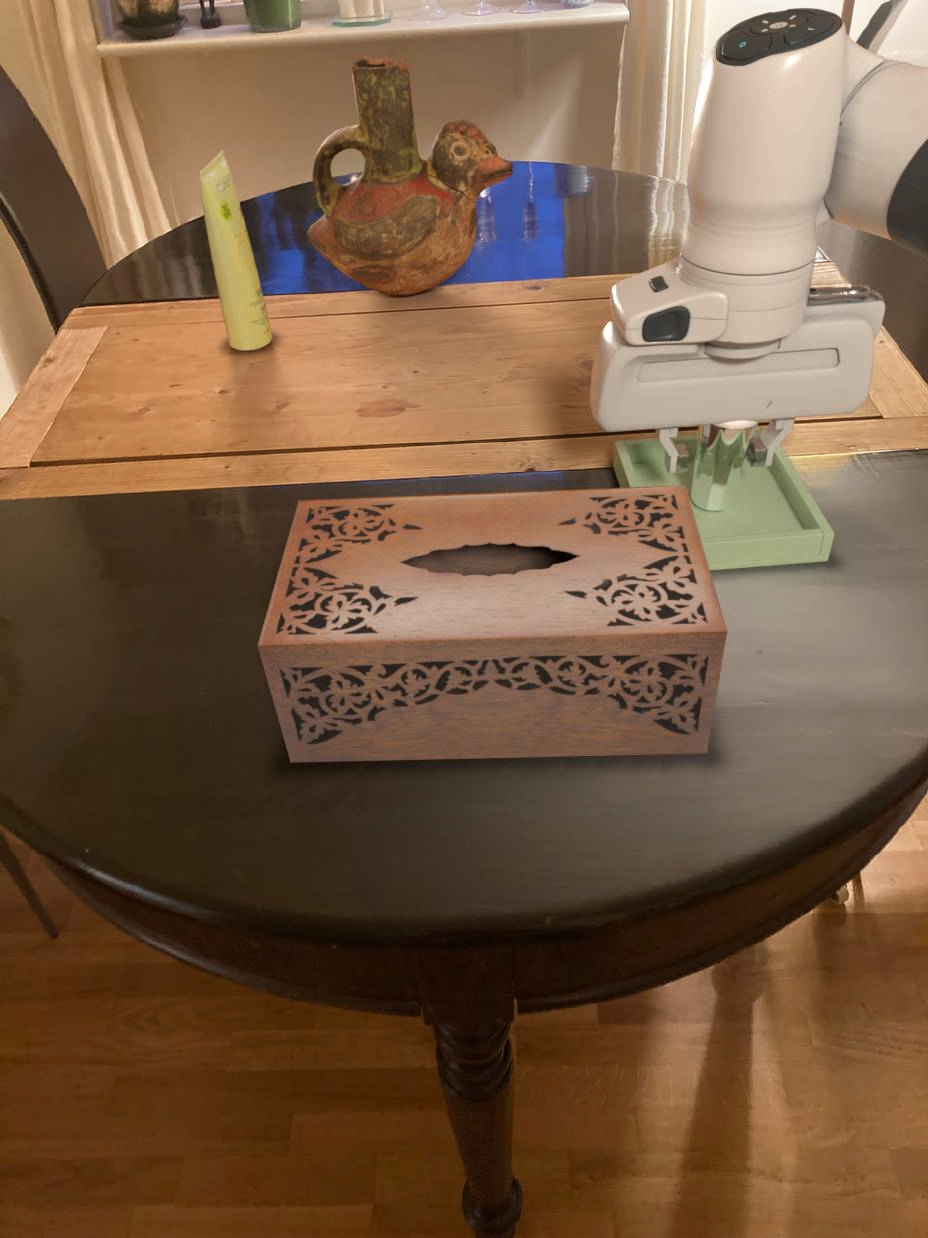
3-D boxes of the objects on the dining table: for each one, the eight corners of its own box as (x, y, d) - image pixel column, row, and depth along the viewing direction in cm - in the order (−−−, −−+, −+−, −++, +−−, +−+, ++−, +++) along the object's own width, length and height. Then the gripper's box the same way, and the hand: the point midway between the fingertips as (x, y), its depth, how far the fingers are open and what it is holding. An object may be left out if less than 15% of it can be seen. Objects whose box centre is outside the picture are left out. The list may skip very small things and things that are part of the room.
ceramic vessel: (507, 316, 107) (499, 70, 91) (295, 313, 111) (250, 78, 95) (525, 261, 120) (521, 37, 103) (334, 261, 124) (301, 46, 108)
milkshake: (730, 527, 72) (757, 412, 66) (672, 501, 75) (692, 388, 69) (759, 503, 75) (787, 390, 68) (701, 479, 78) (724, 368, 71)
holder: (766, 454, 81) (771, 428, 80) (828, 561, 70) (835, 533, 68) (613, 466, 81) (614, 440, 80) (648, 575, 70) (650, 548, 68)
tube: (282, 344, 105) (246, 159, 92) (242, 358, 103) (198, 170, 90) (261, 329, 109) (223, 149, 96) (221, 341, 107) (177, 159, 94)
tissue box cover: (290, 762, 58) (257, 645, 51) (322, 612, 69) (298, 500, 62) (706, 753, 56) (727, 631, 50) (672, 601, 67) (685, 485, 61)
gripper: (873, 265, 66) (834, 436, 75) (589, 287, 66) (584, 455, 75) (910, 300, 61) (863, 477, 70) (603, 323, 61) (596, 498, 70)
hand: (716, 466), depth 73 cm, fingers open, 5 cm apart
